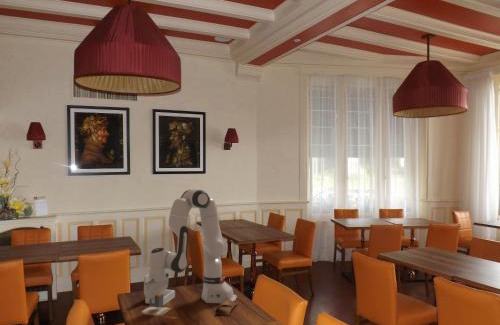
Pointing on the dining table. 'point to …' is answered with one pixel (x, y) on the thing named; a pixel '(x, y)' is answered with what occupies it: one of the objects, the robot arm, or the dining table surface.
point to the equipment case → (166, 293)
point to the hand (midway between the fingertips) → (156, 300)
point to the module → (157, 300)
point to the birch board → (156, 311)
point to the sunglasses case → (226, 307)
